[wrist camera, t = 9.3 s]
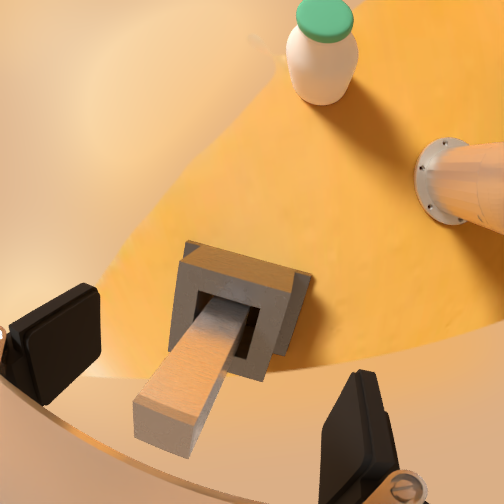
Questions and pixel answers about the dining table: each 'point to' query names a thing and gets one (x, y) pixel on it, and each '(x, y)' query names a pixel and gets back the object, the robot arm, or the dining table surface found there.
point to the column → (190, 379)
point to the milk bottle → (322, 51)
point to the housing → (240, 301)
